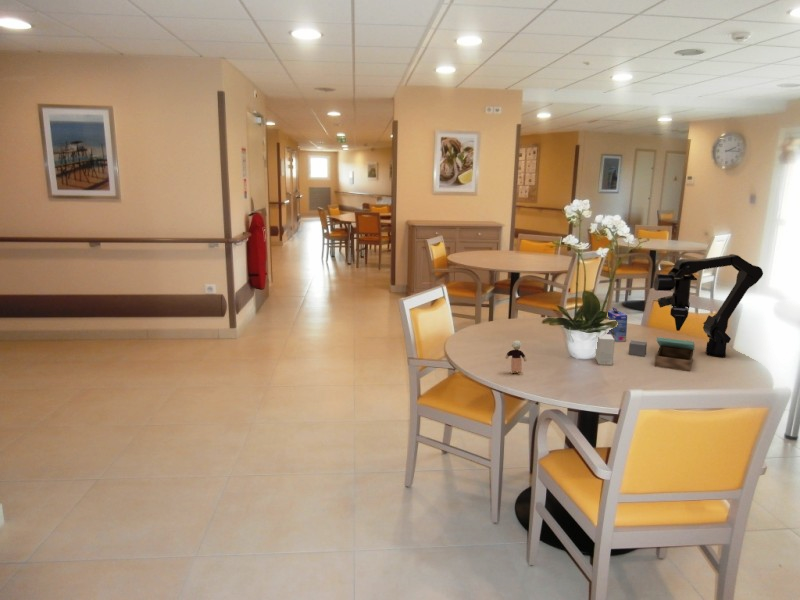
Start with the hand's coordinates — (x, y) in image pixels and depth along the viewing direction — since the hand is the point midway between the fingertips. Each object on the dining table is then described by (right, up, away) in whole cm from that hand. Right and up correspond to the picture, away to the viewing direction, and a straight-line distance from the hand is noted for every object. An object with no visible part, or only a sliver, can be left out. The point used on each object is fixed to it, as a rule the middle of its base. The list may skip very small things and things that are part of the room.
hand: (678, 328), depth 217 cm
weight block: (-16, -11, +2) cm, 20 cm away
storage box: (-7, -13, -9) cm, 17 cm away
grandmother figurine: (-71, -16, -19) cm, 75 cm away
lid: (-7, -6, -10) cm, 14 cm away
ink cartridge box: (-16, -6, +25) cm, 30 cm away
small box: (-33, -13, -7) cm, 37 cm away
